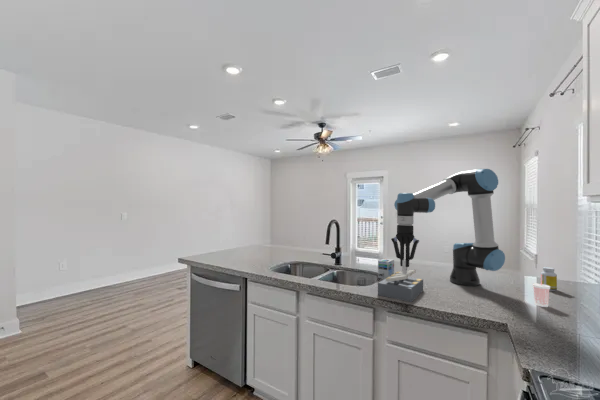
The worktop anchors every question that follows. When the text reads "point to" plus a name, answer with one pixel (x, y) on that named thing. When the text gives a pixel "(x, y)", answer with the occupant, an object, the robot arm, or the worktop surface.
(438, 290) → the worktop surface
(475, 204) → the robot arm
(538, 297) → the beverage cup
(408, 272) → the rocker
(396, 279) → the rocker
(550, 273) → the pill bottle
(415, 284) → the box
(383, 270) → the light bulb box
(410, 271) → the rocker
